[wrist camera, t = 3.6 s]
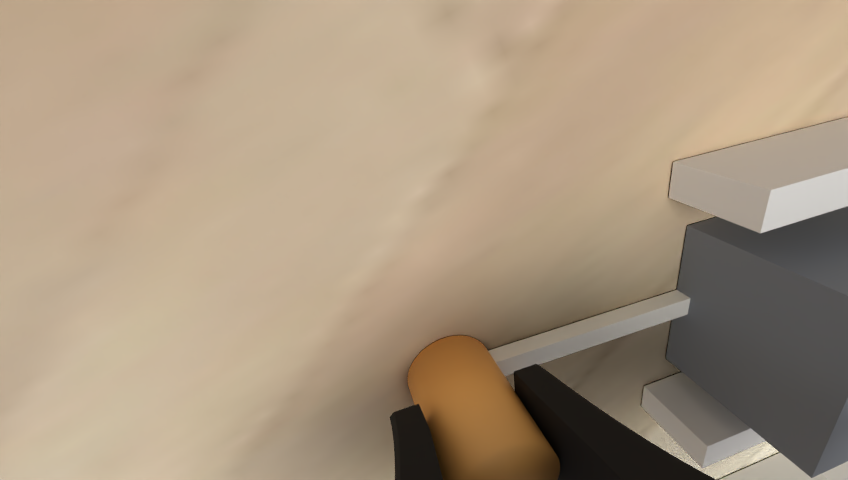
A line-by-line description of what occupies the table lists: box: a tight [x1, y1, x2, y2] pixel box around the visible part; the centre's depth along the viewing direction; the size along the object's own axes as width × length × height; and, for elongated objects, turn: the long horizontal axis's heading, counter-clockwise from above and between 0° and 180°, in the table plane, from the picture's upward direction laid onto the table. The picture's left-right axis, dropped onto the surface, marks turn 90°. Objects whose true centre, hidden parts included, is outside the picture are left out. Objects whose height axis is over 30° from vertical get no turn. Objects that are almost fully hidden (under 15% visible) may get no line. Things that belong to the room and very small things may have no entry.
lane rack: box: [641, 117, 848, 480], centre depth 13 cm, size 25×10×2 cm, turn 8°
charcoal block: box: [408, 206, 848, 480], centre depth 11 cm, size 5×14×4 cm, turn 98°
